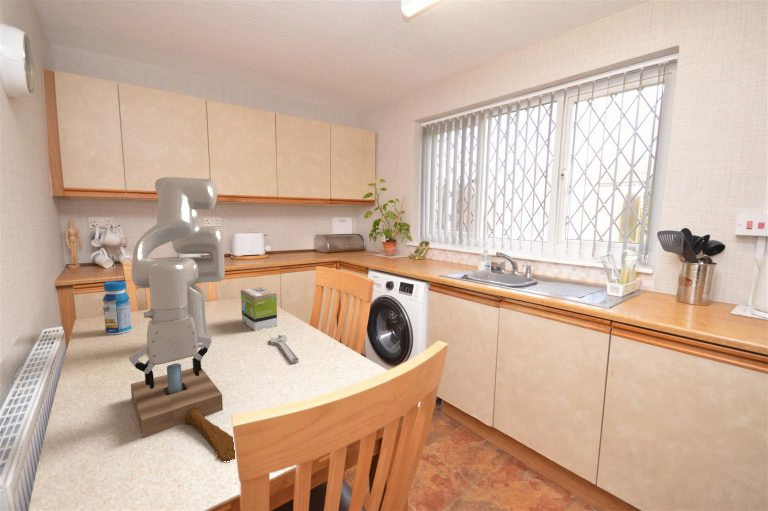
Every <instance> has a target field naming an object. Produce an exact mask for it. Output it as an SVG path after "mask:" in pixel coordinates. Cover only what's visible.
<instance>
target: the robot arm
mask: <svg viewBox="0 0 768 511" xmlns="http://www.w3.org/2000/svg"><path fill="white" fill-rule="evenodd" d="M154 189H155V192H156V195H157V196H158V201H157V213H156V214H157V215H156V223H155V224H154V225H153V226H152V227H150V228H148V230H146V231H145V232H144V234H143V235H141V236H140V237H139V239H138V240H137V242H136V243H135V245H134V249H133V253H132V260H131V268H130V269H131V272H130V273H131V279H132V283H133V284H134V286H136V287H138V288H141V289H149V297H150V309H149V310H148V311H145V312H143V318H144V319H150V320H149V321H148V325H147V332H146V333H147V334H146V345H144V346H143V347H141V348H140V349H139V350H137V351H136V352H133V353H132V354H131V355H129V356H128V361H129V362H130V363H131V364H132V365H133V367H135V369H137V370H139V371H140V372H143V373H144V380H145V383H146V385H149V386H150V389H153V388H154V378H155V377H154V371H153V369H154V367H155V366H157V365H158V366H159V365H162V364H163V365H164V364H167V363H171V362H175V361H180V360H184V359H187V358H191V357H193V358H192V368H193V373H194V374H195V376H199V371H201V368H202V360H203V357H204V356H206V354H207V352H208V351H209V348H210V346H211V344H212V343H213V342H212V336H211V335H210V334H208V333H207V320H206V303H205V302H206V297H205V293H204V291H203V290H202V289H201V288H200V287H199V286H198V285H197V284H205V283H217V282H221V281H223V279H224V277H225V274H226V267H225V266H226V265H225V263H226V262H225V247H224V236H223V234H222V231H221V230H220V229H219V228H218V227H216V226H215V227H214V226H200V225H199V223H200V222H199V214H198V211H197V210H213V209H215V206H216V204H217V198H218V189H217V185H216V183H215V181H214V180H212V179H210V178H195V177H184V176H183V177H181V176H179V177H178V176H177V177H176V176H166V177H165V176H164V177H159V178H158V179H156V180H155V182H154ZM170 242H171V244H172V248H173V249H172V250H173V251H174V252H176V253H178V254H182V255H198V254H199V255H200V254H203V255H204V254H207V255H209V256H207V255H206V256H183V257H179V256H178V257H149V256H150V254H151V253H152V252H153V251H154V250H156V249H157V248H158V247H160V246H163V245H165V244H168V243H170ZM199 347H200V349H199ZM146 354H147V355H146ZM144 355H146V356H147V358H148V359H147V360H146V362H145V363H143V362H141V360H139V359H140V358H141V357H144Z"/></svg>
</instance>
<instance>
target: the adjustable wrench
mask: <svg viewBox="0 0 768 511" xmlns="http://www.w3.org/2000/svg"><path fill="white" fill-rule="evenodd" d="M277 336H278V338H275V337H273V336H272V337H271V336H270V338H269V345H271V346H277V347H279V348H280V349H281V351H282V353H283V355H284V356H285V358H287V360H288V361H289V363H290V364H291V365H297V364H299V361H300V359H299V357H298V355H296V353H295V352H294V351H293V350H292V349H291V347H289V345H288V344H287V341H288V336H287V335H285V334H278V335H277Z"/></svg>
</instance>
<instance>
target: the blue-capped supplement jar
mask: <svg viewBox="0 0 768 511" xmlns="http://www.w3.org/2000/svg"><path fill="white" fill-rule="evenodd" d="M103 290H104V292H105V294H104V296H103V297H102V302H103V306H102V310H103V317H104V324H105V325H104V326H105V334H107V335H109V336H115V335H114V334H116V335H121V333H122V334H126V333H128V332H130V331H131V330H132V320H131V319H132V315H131V302H130V301H129V300H130V296H129V294H128V293H127V292H126V290H127V282H126V281H125V280H112V281H107V282H104V284H103ZM125 332H126V333H125Z"/></svg>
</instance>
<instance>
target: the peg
mask: <svg viewBox="0 0 768 511" xmlns="http://www.w3.org/2000/svg"><path fill="white" fill-rule="evenodd" d="M181 371H182V364H181V363H179V362H178V363H176V362H175V363H172V364H169V365H167V366H166V375H167V379H168V394H169V395H171V394H174V393H177V392H181V391H183V389H182V373H181Z"/></svg>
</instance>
